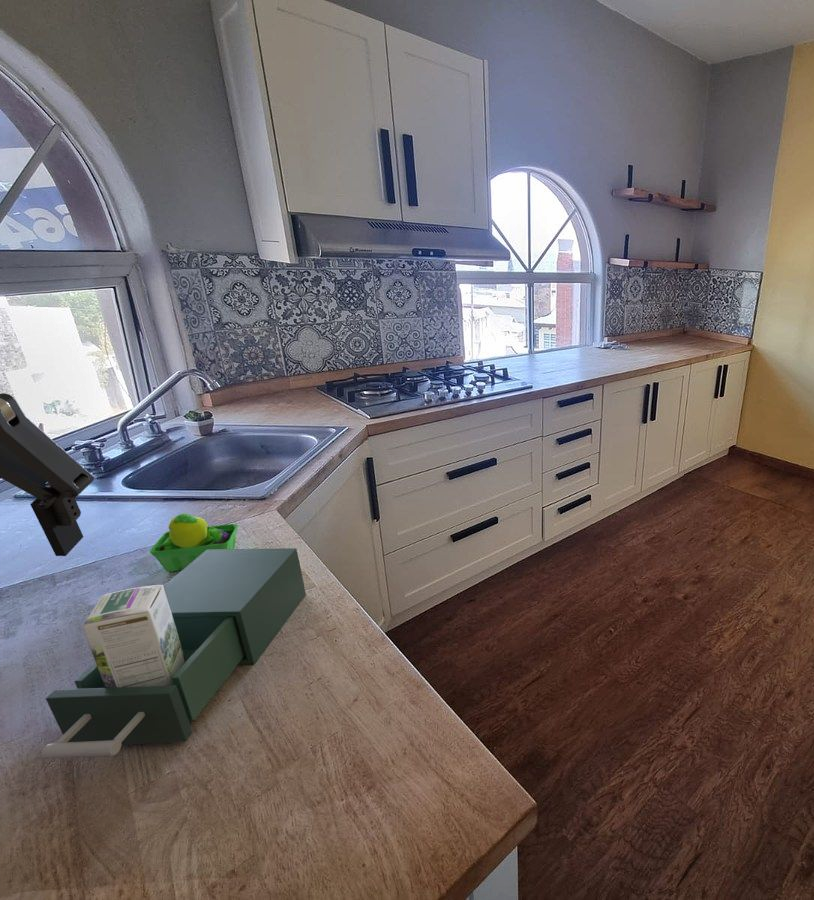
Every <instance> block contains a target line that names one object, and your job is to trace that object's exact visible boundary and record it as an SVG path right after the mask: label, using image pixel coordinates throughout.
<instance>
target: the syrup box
mask: <svg viewBox="0 0 814 900" xmlns="http://www.w3.org/2000/svg"><path fill="white" fill-rule="evenodd" d="M163 586H164V584H153V585H145V586H137V587H132V588H131V587H130V588H126V589H121V590H117V591H113V592H109V593H106V594H103V595H102V594H101V596H100V597H99V600H98V601H97V603H96V604H95V606H94V607H93V609H92V610H91V612H90V613H89V615H88V616H87V617H86V619H85V621H84V622H83V624H82V625H81V627H82V630H83V633H84V635H85V638H86V640H87V643H88V645H89V648H90V651H91V654H92V656H93V659H94V661H95V662H96V664H97V667H98V670H99V672H100V675H101V678H102V680H103V683H104V686H105V688H116V687H143V686H169V685H174V684H173V681H172V676H173V675H174V674H175V673H176V672H177V671H178V670H179V669H180V668H181V667H182V666H183V664H184V663H185V662H186V659H185V656H184V653H183V650H182V646H181V643H180V640H179V636H178V633H177V630H176V626H175V623H174V620H173V617H172V613H171V610H170V607H169V604H168V600H167V597H166V594H165V591H164V587H163ZM95 662H94V663H95Z"/></svg>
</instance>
